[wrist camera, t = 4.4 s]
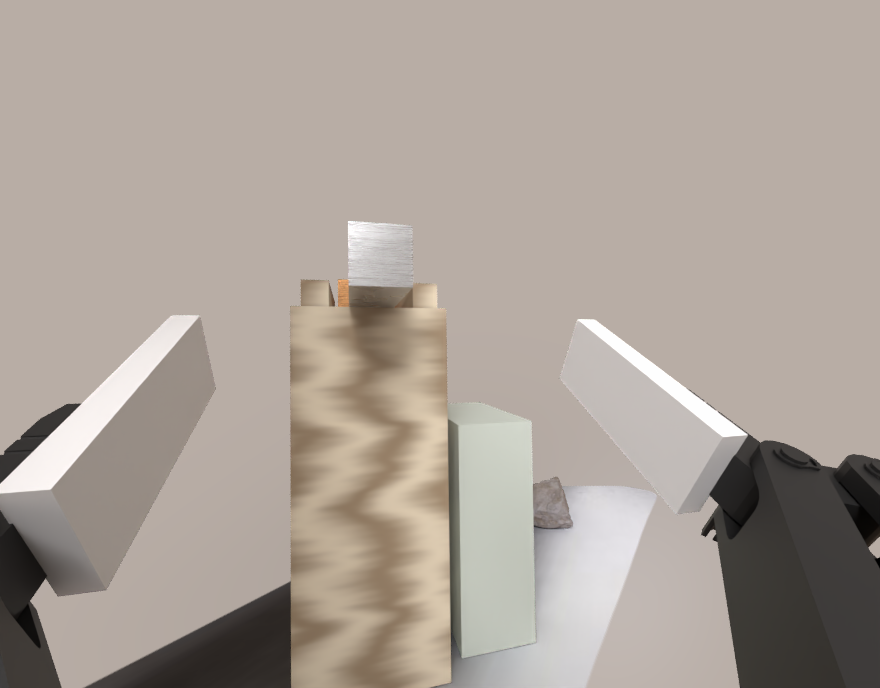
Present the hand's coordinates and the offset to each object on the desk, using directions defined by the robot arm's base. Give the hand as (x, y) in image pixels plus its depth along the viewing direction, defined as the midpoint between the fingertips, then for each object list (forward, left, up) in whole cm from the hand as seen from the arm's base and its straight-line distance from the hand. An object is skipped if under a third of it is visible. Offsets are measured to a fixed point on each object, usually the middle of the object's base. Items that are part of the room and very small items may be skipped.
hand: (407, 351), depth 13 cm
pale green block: (+11, +25, -26) cm, 38 cm away
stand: (0, +22, -26) cm, 34 cm away
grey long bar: (0, +18, +4) cm, 19 cm away
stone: (+28, +40, -27) cm, 56 cm away
